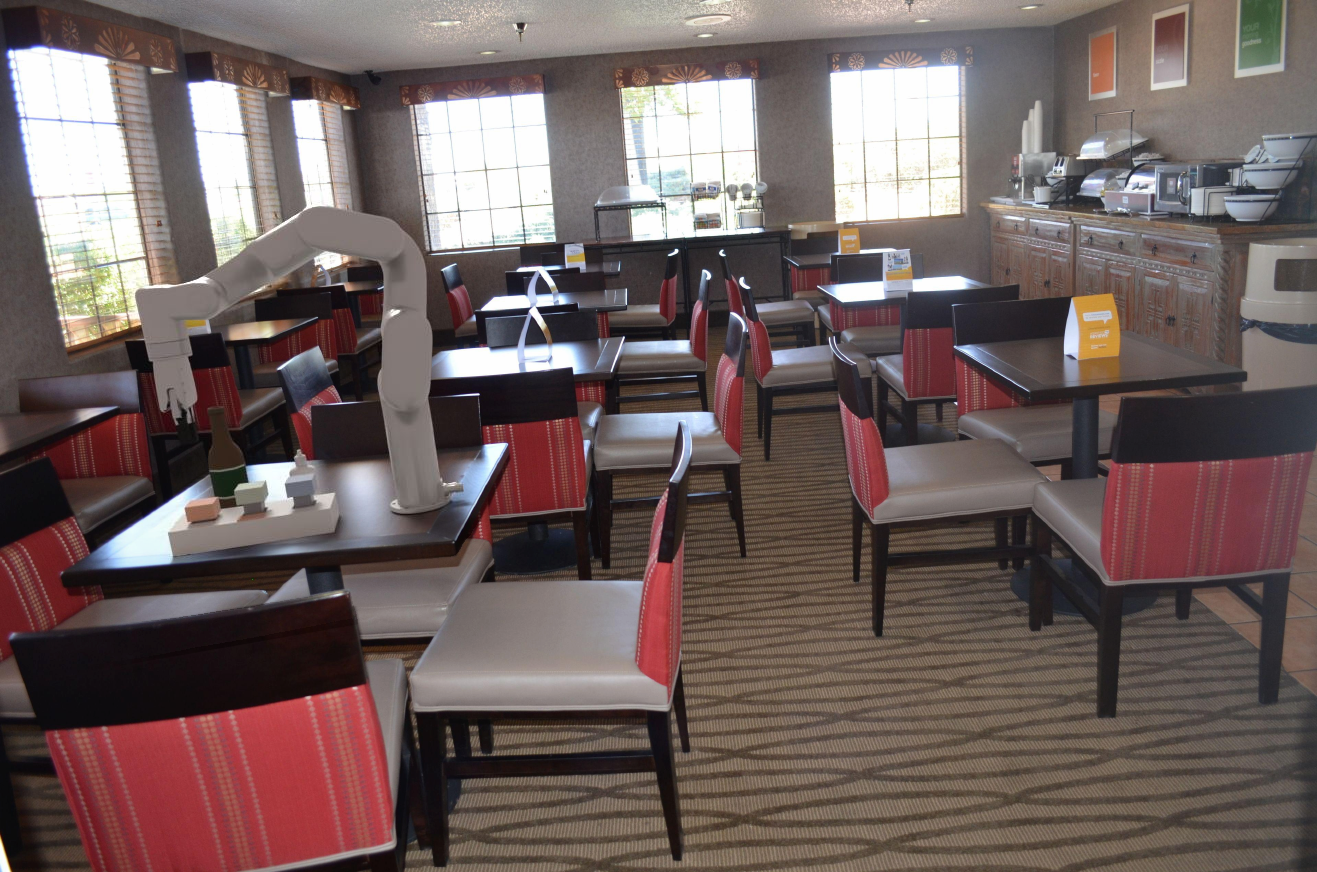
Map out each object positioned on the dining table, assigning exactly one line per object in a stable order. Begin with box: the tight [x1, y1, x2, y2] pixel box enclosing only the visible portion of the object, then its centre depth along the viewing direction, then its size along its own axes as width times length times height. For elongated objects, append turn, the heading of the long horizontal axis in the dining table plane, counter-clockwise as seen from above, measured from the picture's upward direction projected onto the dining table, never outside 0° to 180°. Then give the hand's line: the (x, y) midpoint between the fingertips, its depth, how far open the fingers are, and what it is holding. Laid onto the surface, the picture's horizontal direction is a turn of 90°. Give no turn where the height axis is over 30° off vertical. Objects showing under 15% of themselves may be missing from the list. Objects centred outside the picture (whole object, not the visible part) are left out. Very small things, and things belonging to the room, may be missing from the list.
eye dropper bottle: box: [288, 449, 321, 496], centre depth 213 cm, size 4×6×12 cm
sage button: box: [234, 480, 269, 515], centre depth 192 cm, size 5×5×8 cm
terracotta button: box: [184, 496, 221, 524], centre depth 190 cm, size 5×5×8 cm
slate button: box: [284, 473, 317, 509], centre depth 194 cm, size 5×5×8 cm
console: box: [167, 492, 340, 557], centre depth 193 cm, size 30×12×5 cm, turn 103°
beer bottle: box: [206, 405, 250, 509], centre depth 208 cm, size 8×8×24 cm
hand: (189, 442), depth 187 cm, fingers closed
